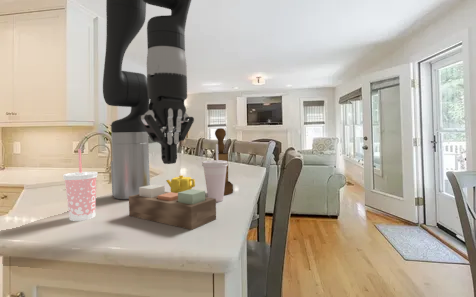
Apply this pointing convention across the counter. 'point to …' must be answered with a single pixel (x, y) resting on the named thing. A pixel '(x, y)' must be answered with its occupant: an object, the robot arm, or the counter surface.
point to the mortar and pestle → (223, 158)
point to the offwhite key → (151, 191)
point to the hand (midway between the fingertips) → (169, 163)
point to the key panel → (173, 211)
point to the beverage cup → (81, 193)
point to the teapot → (181, 184)
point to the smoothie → (215, 177)
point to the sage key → (191, 196)
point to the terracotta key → (168, 196)
